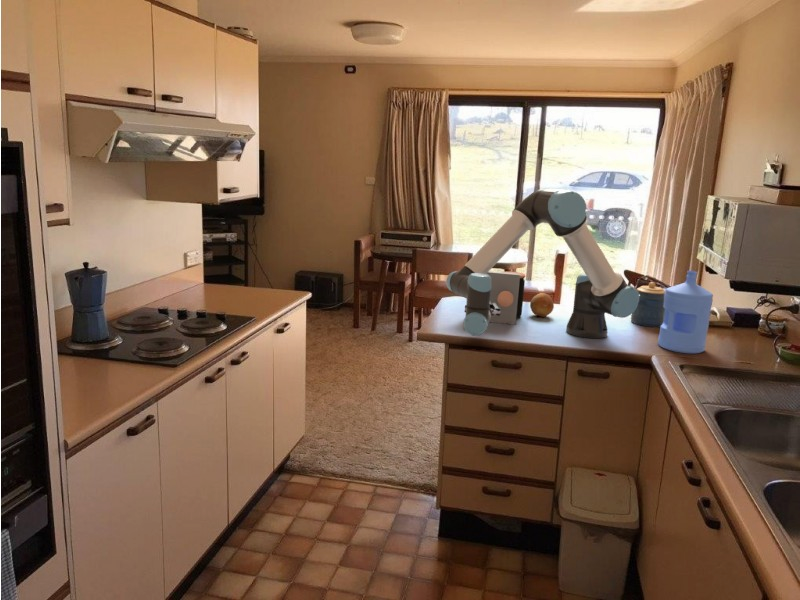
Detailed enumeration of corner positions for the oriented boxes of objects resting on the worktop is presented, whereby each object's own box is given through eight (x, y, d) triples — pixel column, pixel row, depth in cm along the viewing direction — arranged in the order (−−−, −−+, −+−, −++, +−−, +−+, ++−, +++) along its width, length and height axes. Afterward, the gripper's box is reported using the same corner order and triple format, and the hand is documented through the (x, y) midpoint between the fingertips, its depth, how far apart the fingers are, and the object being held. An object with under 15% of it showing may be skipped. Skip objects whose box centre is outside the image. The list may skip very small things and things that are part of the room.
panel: (466, 317, 251) (469, 269, 246) (515, 322, 246) (520, 273, 242) (465, 319, 248) (468, 270, 243) (515, 324, 244) (519, 274, 239)
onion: (523, 314, 261) (526, 291, 259) (540, 312, 266) (542, 290, 264) (540, 320, 253) (543, 296, 251) (557, 317, 258) (559, 294, 256)
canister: (641, 327, 249) (647, 285, 245) (624, 319, 261) (629, 279, 257) (670, 327, 251) (676, 285, 248) (651, 319, 264) (657, 279, 260)
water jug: (679, 340, 232) (690, 267, 226) (714, 352, 217) (727, 275, 212) (647, 343, 226) (658, 268, 220) (681, 355, 212) (693, 276, 206)
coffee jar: (520, 313, 262) (524, 272, 259) (522, 319, 252) (526, 276, 248) (495, 312, 263) (498, 270, 259) (496, 317, 253) (500, 275, 249)
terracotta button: (498, 301, 246) (499, 287, 244) (513, 303, 244) (514, 288, 243) (496, 306, 238) (498, 291, 236) (512, 307, 236) (513, 292, 235)
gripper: (460, 323, 212) (469, 309, 235) (498, 327, 210) (503, 312, 232) (461, 302, 211) (470, 290, 233) (500, 306, 208) (505, 293, 230)
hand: (487, 301), depth 233 cm, fingers closed
